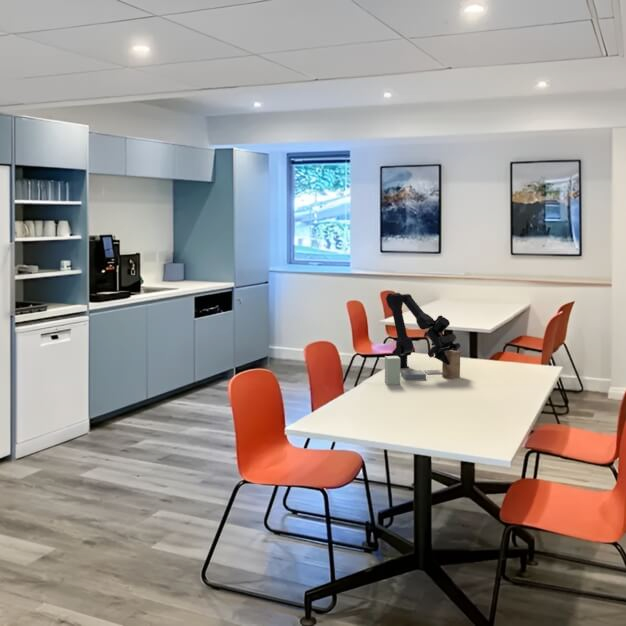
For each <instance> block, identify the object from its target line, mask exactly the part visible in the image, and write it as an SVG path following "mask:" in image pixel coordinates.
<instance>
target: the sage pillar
mask: <svg viewBox="0 0 626 626" xmlns="http://www.w3.org/2000/svg"><path fill="white" fill-rule="evenodd" d="M384 383H385V384H386V385H387V386H392V385H393V386H395V385H396V386H399V384H400V385H401V368H400V358H399V357H398V356H393V355H388V356H387V355H384Z"/></svg>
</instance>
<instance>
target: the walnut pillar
mask: <svg viewBox="0 0 626 626" xmlns="http://www.w3.org/2000/svg"><path fill="white" fill-rule="evenodd" d="M444 354H445V356H446V357H447V359H448V361H449V363H450V364H449V365H447V364H446V363H444V362H442V361H441V362H442V365H441V366H442V370H441V372H442V374H441V376H442V378H447V379H456V377H457V378H460V377H461V351H459V350H457V351H454V350H448V351H444Z"/></svg>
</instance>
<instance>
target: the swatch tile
mask: <svg viewBox="0 0 626 626" xmlns="http://www.w3.org/2000/svg"><path fill="white" fill-rule="evenodd" d="M423 372H424V373H425V374H426V375H442V370H440V369H427V370H426V369H425V370H424V369H423Z"/></svg>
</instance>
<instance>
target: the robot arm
mask: <svg viewBox="0 0 626 626" xmlns="http://www.w3.org/2000/svg"><path fill="white" fill-rule="evenodd" d="M385 300H386V304H387V307H388V308H389V309H390V310H391V312H392V317H393V320H394V326H395V331H396V336H397V338H396V342H395V349H394V350H392V356H398V357H399V358H400V369H410V366H409V365H408V356H411V355H412V353H413V352H412V351H413V350H414V343H413V338H411V337H409V336H408V334H407V330H406V329H407V328H406V325H405V321H404V314H403V312H402V311H403V310H402V307H403V304H404V305H405V306H406V308H407V309H408V310H409V311H410V313H411V314H412V315H413V317H415V321H416V324H417V326H418V327H419V329H420V330H423V331H424V330H427V331H424V334H423V337H424V338H427V337H428V338H429V339H430V341H431V346H432V347H431V348H430V349H429V350H428V351H427V356H428V357H429V358H434V359H436V360H438V361H440V362H444V363H446V364H447V365H449V364H450V363H449V361H448V359H447V357H446V356H445V354H444V351H448V350H454V351H459V349H460V348H461V347H462V346H461V344H460V343H459V342H456V340H457V336H456V334H455V333H450V334H448V335H445V336H444V335H443V336H442V333H444V332H445V330H446V329H447V328H448V327H449V326H450V320H449V319H447V318H446V317H444V316H442V315H438V316H437V317H436V319H434V318H433V317H432V316H430V315H429V314H428V313H425V312H424V310H422V309H421V307H420V306H419V305H418V304H417V302H416V301H415V300H414V298H413V297H412V295H411V294H410V293H405V294H402V293H400V292H391V293H390V292H389V293H388V294H387V295H386V297H385Z"/></svg>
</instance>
